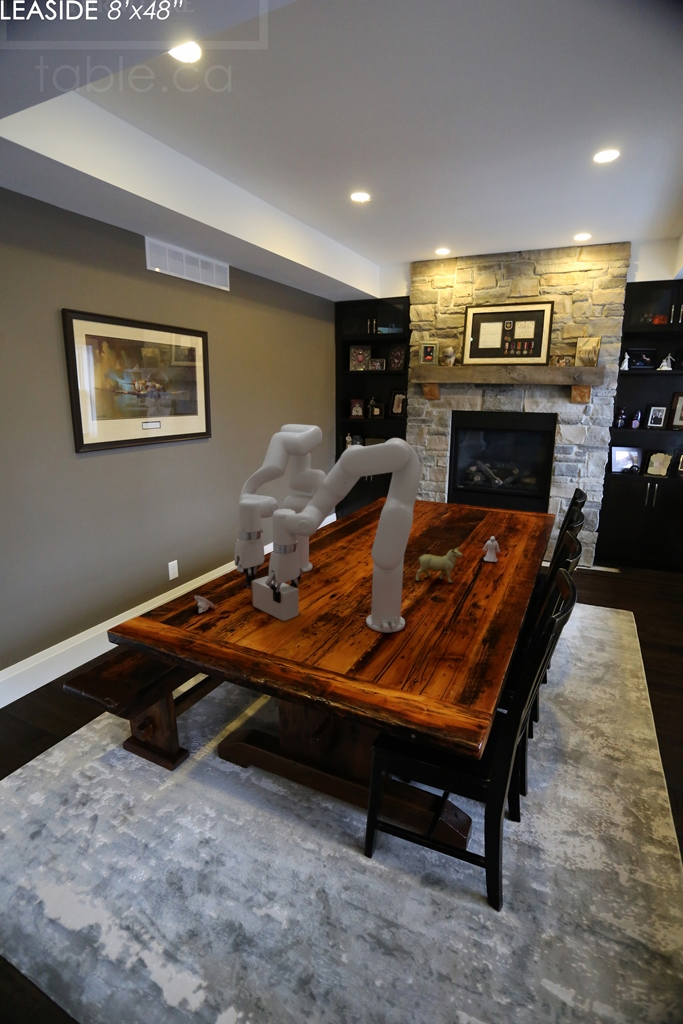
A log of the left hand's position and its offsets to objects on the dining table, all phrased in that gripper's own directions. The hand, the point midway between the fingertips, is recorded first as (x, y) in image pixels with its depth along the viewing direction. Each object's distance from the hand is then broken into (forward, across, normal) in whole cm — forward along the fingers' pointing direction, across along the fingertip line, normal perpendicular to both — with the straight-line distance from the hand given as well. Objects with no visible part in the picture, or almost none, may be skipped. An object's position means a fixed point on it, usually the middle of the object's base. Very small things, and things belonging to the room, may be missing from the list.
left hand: (250, 584), depth 177 cm
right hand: (0, -1, +18) cm, 18 cm away
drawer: (+5, -1, +8) cm, 9 cm away
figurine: (+4, -102, +41) cm, 110 cm away
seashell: (+6, +16, -4) cm, 18 cm away
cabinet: (+6, -1, +13) cm, 14 cm away
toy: (+5, -64, +38) cm, 74 cm away
